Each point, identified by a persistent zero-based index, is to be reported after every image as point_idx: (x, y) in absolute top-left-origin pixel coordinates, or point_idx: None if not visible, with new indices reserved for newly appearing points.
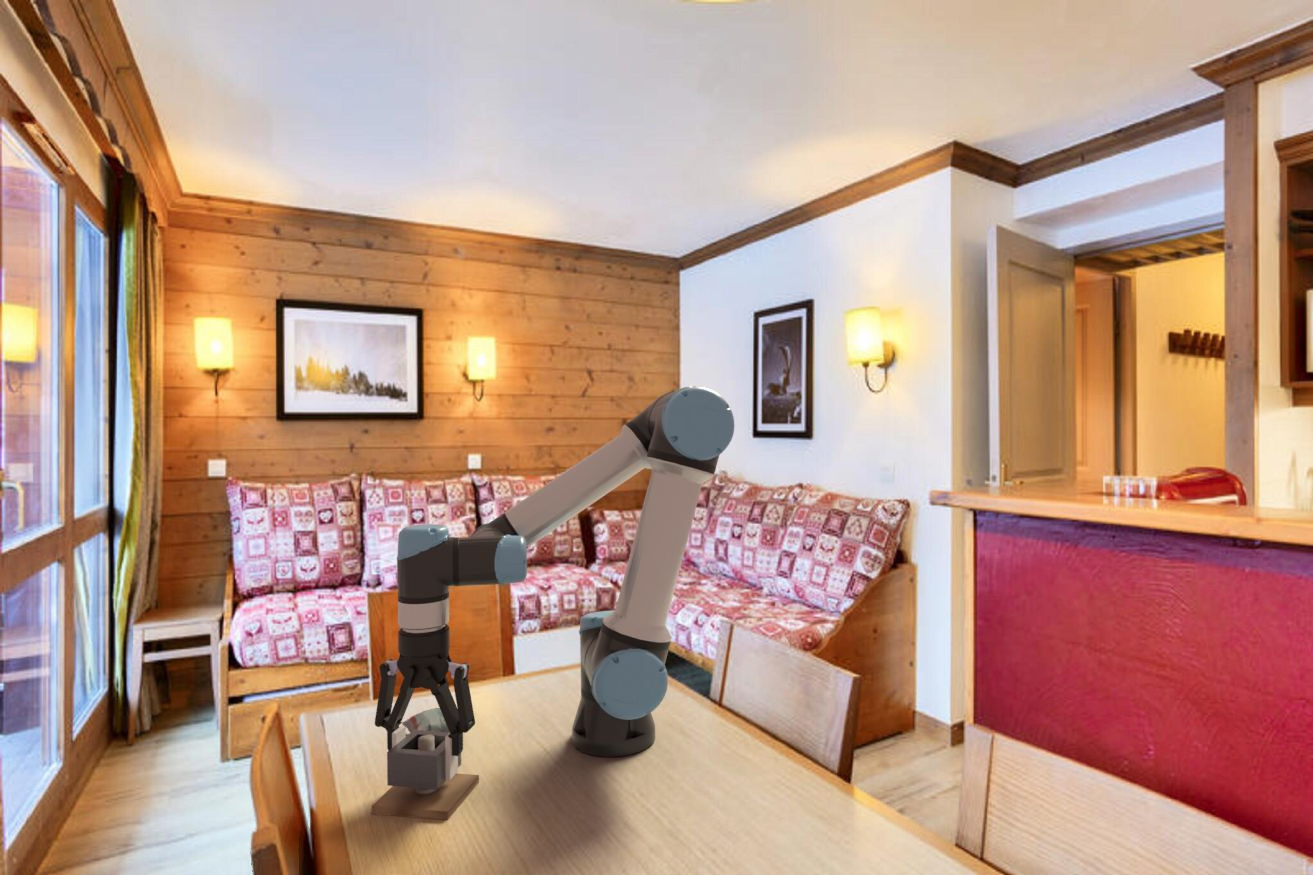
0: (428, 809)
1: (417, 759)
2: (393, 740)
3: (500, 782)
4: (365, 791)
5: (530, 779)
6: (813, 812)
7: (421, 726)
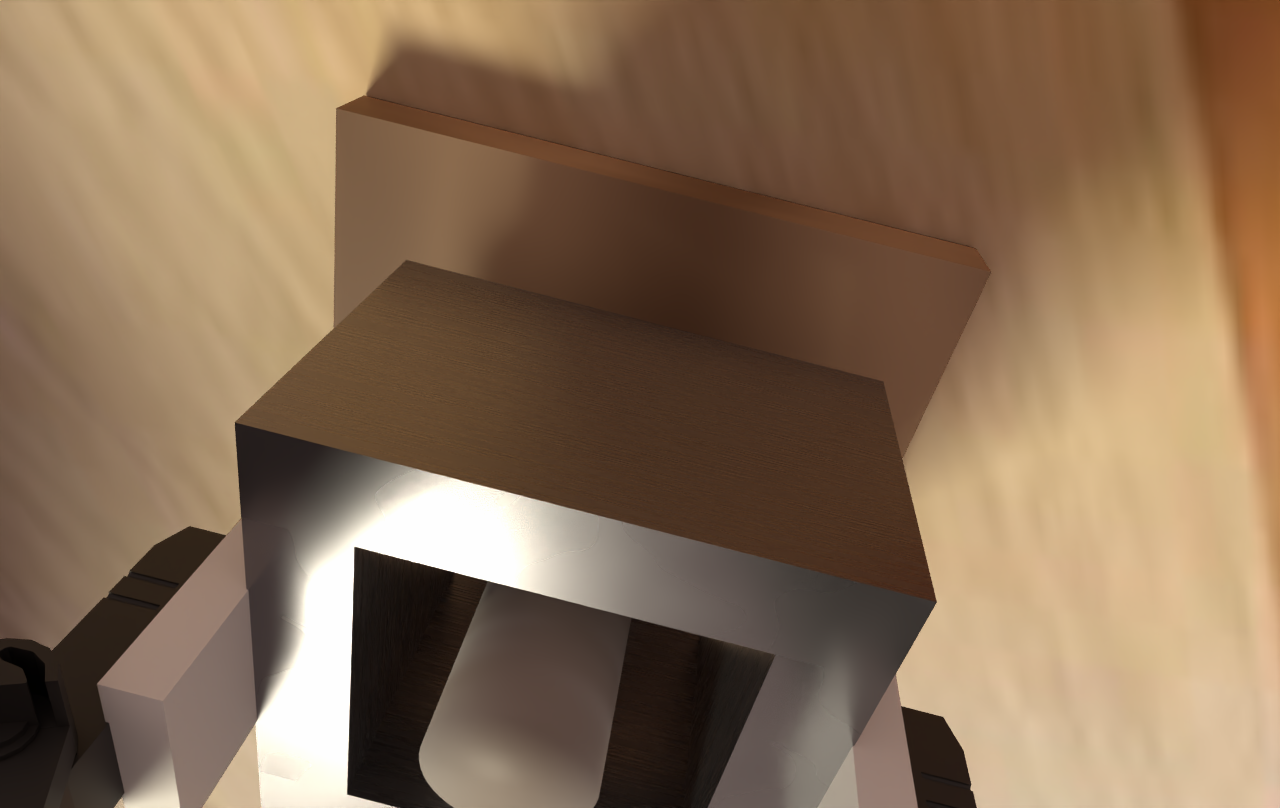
0: (502, 157)
1: (526, 454)
2: (897, 798)
3: (224, 508)
4: (1063, 538)
5: (69, 512)
6: None
7: None
